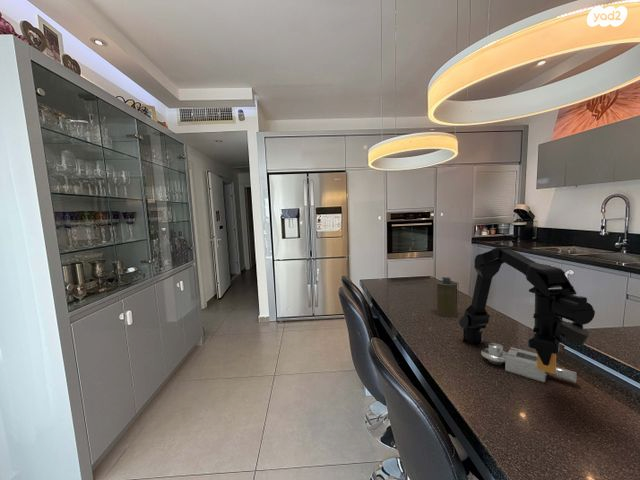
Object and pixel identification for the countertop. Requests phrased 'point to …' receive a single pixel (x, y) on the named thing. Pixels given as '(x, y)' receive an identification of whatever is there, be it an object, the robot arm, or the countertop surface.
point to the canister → (447, 297)
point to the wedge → (551, 367)
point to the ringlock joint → (522, 363)
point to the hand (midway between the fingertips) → (546, 363)
